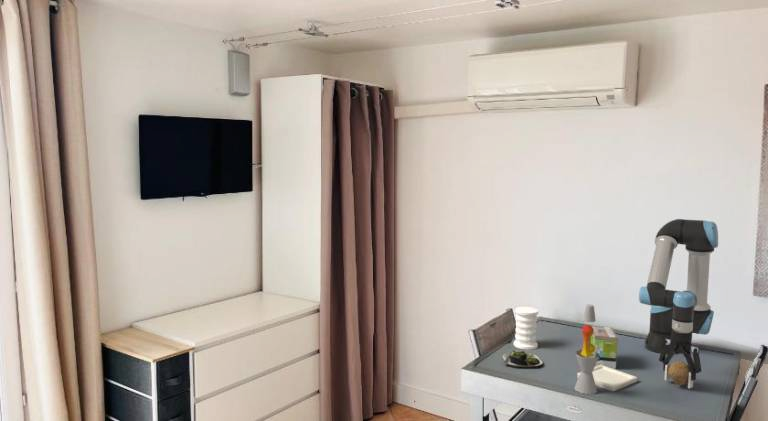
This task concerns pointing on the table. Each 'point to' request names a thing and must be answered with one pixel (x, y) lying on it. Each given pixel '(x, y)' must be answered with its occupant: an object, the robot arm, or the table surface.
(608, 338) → the tea box
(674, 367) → the natural sponge
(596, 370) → the tray
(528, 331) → the decorative container
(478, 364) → the table surface
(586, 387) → the lava lamp
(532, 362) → the salad plate
